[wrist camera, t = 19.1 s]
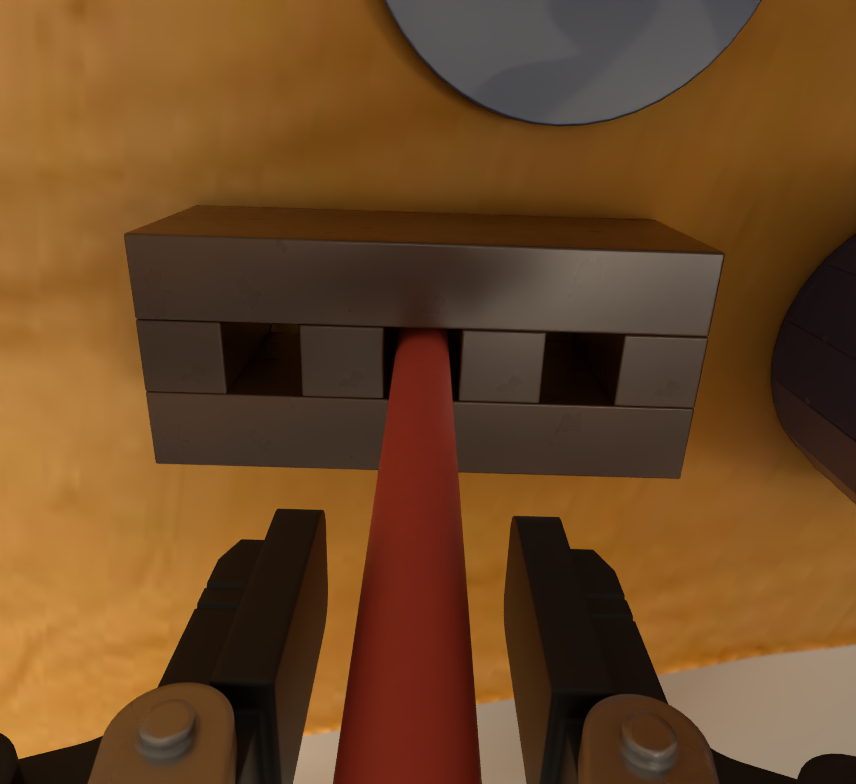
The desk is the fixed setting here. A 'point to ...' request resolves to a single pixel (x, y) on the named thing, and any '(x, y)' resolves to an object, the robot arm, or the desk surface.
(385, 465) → the straw
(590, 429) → the straw holder
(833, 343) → the tin
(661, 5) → the tin lid
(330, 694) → the desk surface
